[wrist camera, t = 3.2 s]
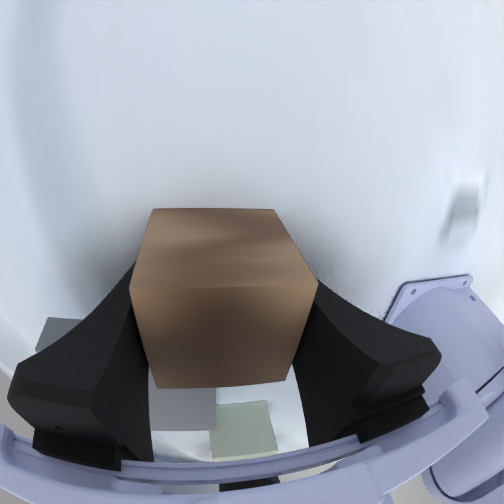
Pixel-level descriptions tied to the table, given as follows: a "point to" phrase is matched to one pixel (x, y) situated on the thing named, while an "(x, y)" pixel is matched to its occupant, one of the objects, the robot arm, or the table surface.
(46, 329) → the grey square slab
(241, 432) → the sage cube
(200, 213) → the walnut cube
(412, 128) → the table surface
